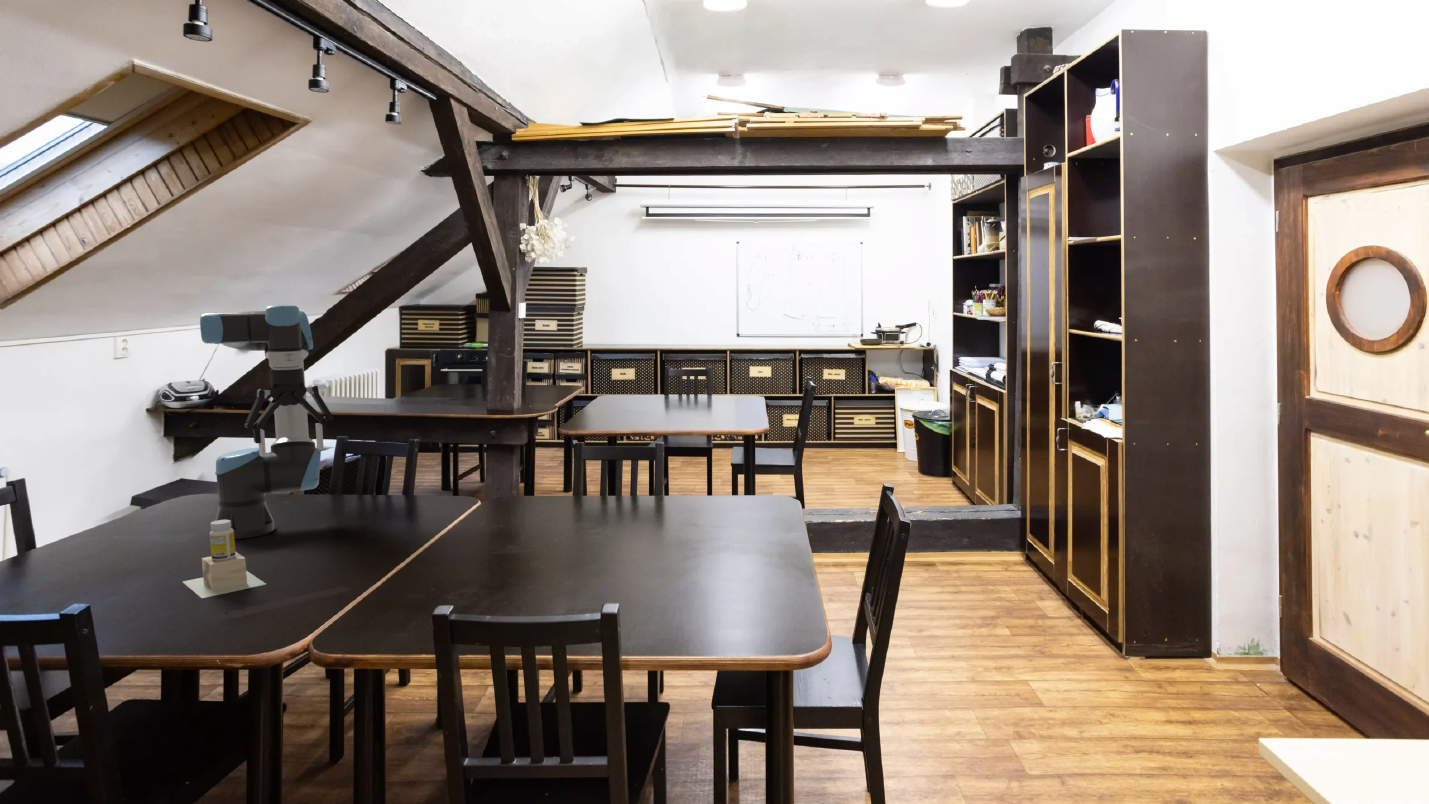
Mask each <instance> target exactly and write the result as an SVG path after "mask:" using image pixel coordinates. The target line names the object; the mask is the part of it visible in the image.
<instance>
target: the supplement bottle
mask: <svg viewBox="0 0 1429 804" xmlns="http://www.w3.org/2000/svg"><path fill="white" fill-rule="evenodd" d="M230 527H231V521H230V520H218V521H215V520H213V521H211V522H210V532H209V544H210V555H211V556H212V560H215V561H224V560H228V559H232V558H234V557H235V556H236V553H235V552H236V541H235V539H234V531H233V529H232V528H230ZM211 556H210V557H211Z"/></svg>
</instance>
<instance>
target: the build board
mask: <svg viewBox="0 0 1429 804" xmlns="http://www.w3.org/2000/svg"><path fill="white" fill-rule="evenodd" d="M246 575H247V584H243V585H239V586H234V587H230V588H225V589H220V590H216V591H212V590H211V589H209V588H208V587H207V586H206V585H204V582H203V576H202V577H197V578H193V579H189V580H183V581H182V584H183V585H185V586H186V587H187V588H188V589H190V590H191V591H192V592H194V594H195V595H197V596H198V597H199V598H201V599H206V598H211V597H216V596H219V595H223V594H224V595H225V594H228V593H233V592H237V591H243V590H245V589H251V588H256V587H261V586H265V585H267V583H265V582H264V581H263V580H261V579H260V578H258V577H256V575H254V574H253V573H250V572H249V571H248V570H246Z"/></svg>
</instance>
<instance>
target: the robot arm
mask: <svg viewBox="0 0 1429 804" xmlns="http://www.w3.org/2000/svg"><path fill="white" fill-rule="evenodd" d="M199 319H200V320H199V325H200V326H199V327H200V329H199V330H200V337H201V340H202V342H203V343H204V344H209V345H210V344H212V345H213V344H215V345H220V344H221V345H222V346H225V347H228V348H232V349H236V350H242V351H249V352H251V351H259V352H260V351H263V352H264V356H265V358H266V359H268V365H269V367H270V368H271V369H270V371H269V380H270V381H269V382H270V388H269V389H261V388H258V389H257V390H256V396H255V400H254V402H253V405H252V406H251V409H250V411H249V414H248V416H247V418H246V419H245V422H244V424H243V426H244V427H245V428H246V429H248V430H252V432H253V433H252V434H253V442H254V443H255V444H258V447H250V448H244V449H243V448H242V449H238V450H234V451H230V452H227V453H223V454H222V455H220V456H218V457H217V459H216V460H215V472H214V473H215V475H216V486H217V501H218V510H217V513H216V517H215V520H214V521H218V520H230V521H231V527H230V528H232V529H233V531H234V540H241V539H248V538H256V537H259V536H265V535H266V534H269V533H272V532H273V531H274V530H275V521H274V518H273V516H272V514H271V512H270V510H269V508H268V505H267V502H266V495H268V494H269V495H270V494H279V493H289V492H303V491H307V490H308V491H309V490H314V489H316V488H317V487H318V485H319V484H320V471H321V470H320V469H321V458H322V457H321V456H322V450H323V451H324V436H327V424H328V422H331V421H333V420H334V415H333V414H332V412H331V411H330V409H329V407H328V406H327V404H326V403H325V401H324V399H323V398H322V396H321V394H320V390H319V387H318V386H317V385H315V384H311V385H310V386H307V387H306V380H305V367H304V366H305V363H304V360H306V358H307V357H308V356H309V350H313V348H314V342H313V341H314V340H313V337H312V336H313V335H312V331H311V326H310V321H309V319H308V316H307V314H306V313H305V312H304V311H301V310H300V309H299V307H298V306H296V305H289V304H288V305H287V304H286V305H285V304H283V305H269V306H267V307H265V310H248V311H247V310H246V311H240V312H212V313H203V314H201V316H200V318H199ZM307 393H308V394H309V395H310V396H312V399H313V400H314V402H315V404H316V405H317V406H318V408H319V410H320V411H321V413H322V414H320V413H319V412H318V411H317V410H316V409H315V408H314V407H313V406H312V404H310V403H309V402H308V401H307V395H306V394H307ZM268 396H270V397H271V398H272V399H271V401H270V402H269V404H268V406H267V407H266V408H265V409H264V411H262V414H260V416H259V417H258V415H259V413H260V411H261V409H262V406H263V405H264V402H265V399H267V398H268ZM273 413H274V427H275V428H274V429H275V440H274V442H273V443H272V444H271V445H270V452H266V449H267V448H266V439H265V438H266V437H265V430H264V429H262V428H263V427H264V425H265V424H266V423H267V421H268V420H269V419H270V418H271V416H272V415H273ZM308 413H309V414H310V415H311V416H312V417H313V418H314V419H315V420H316V421H317V423H315V437H316V440H315V441H316V443H315V441H314V440H312V439H311V438H310V435H309V434H310V433H309V422H308Z"/></svg>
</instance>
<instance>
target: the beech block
mask: <svg viewBox="0 0 1429 804" xmlns="http://www.w3.org/2000/svg"><path fill="white" fill-rule="evenodd" d="M235 553H236V556H235V557H234V558H232V559H228V560H224V561H215V560H212V556H206V557H201V566H202V577H203V582H204V585H206V586H207V587H208V588H209V589H211V590H212V591H216V590H220V589H225V588H230V587H234V586H239V585H243V584H247V575H246V571H247V564H246V557H244V556H243V555H242V554H240V553H238V552H237V551H235Z"/></svg>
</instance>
